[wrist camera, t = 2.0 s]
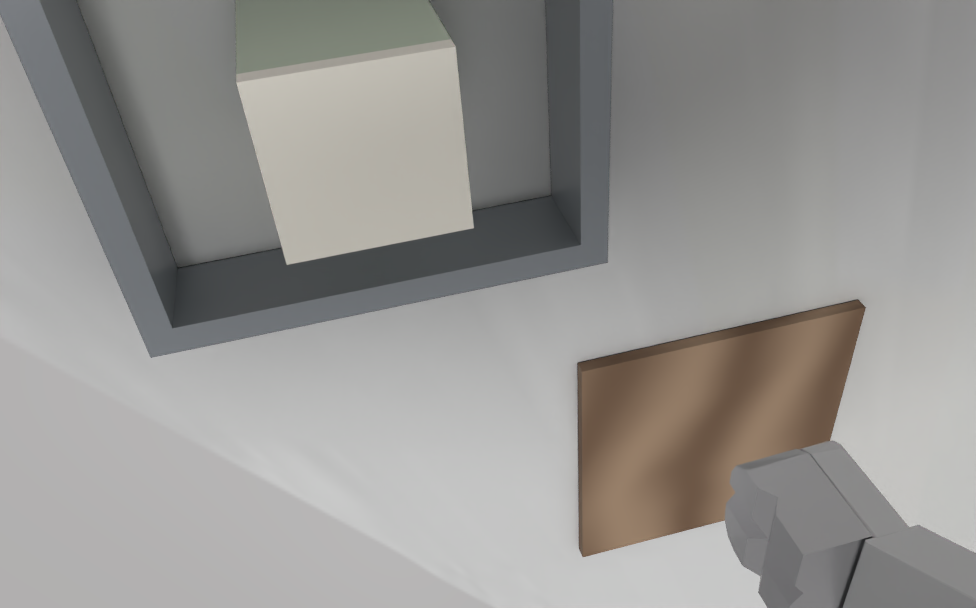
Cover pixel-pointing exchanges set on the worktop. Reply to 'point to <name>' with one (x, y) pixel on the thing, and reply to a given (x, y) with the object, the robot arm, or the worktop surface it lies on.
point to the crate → (336, 279)
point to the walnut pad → (702, 419)
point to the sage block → (353, 122)
